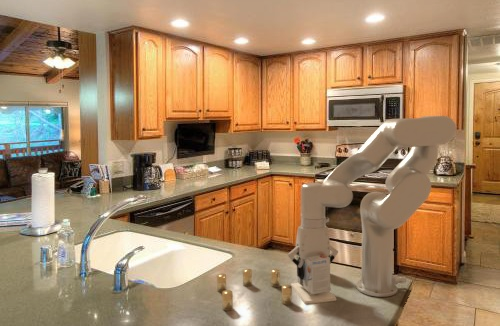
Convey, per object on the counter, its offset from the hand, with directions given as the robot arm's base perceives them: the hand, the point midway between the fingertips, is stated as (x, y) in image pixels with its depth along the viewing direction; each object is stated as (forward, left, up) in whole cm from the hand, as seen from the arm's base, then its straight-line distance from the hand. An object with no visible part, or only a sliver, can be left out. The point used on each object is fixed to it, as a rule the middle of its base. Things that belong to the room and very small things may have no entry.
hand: (313, 276), depth 128 cm
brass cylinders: (+19, -3, -5) cm, 20 cm away
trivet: (0, 0, -5) cm, 5 cm away
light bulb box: (0, 0, -3) cm, 3 cm away
